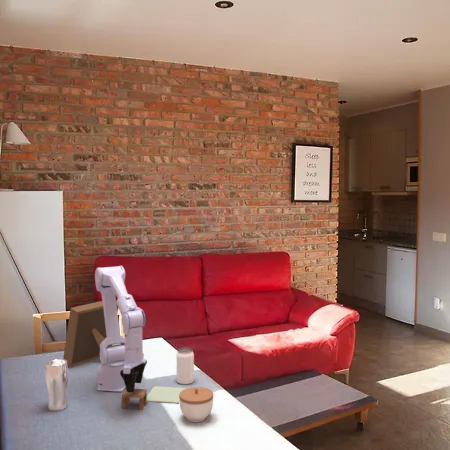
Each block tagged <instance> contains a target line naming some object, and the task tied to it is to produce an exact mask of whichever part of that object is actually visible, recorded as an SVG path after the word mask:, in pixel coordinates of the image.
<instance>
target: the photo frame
mask: <svg viewBox="0 0 450 450" xmlns="http://www.w3.org/2000/svg"><path fill="white" fill-rule="evenodd" d="M116 306H117V314H118V312H119V311H118V310H119V308H118V305H117V300H116ZM68 316H69V317H68V322H67V330H66V335H65V336H66V337H65V343H64V344H65V345H64V351H63V356H62V359H64V360H67V365H68V369H71V368H73V367H76V366H77V367H78V366H79V365H83V364H84V363H88V362H91V361H94V360H97V359H100V344H101V342H102V341H103V340H104V339H105V338H106V337H107V335H106V326H105V318H104V309H103V301H102V300H101V301H96V302H91V303H87V304H82V305H77V306H74V307H73V306H72V307H70V309H69V315H68ZM108 346H113V344H110V345H108Z"/></svg>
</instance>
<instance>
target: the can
mask: <svg viewBox="0 0 450 450" xmlns="http://www.w3.org/2000/svg"><path fill="white" fill-rule="evenodd" d="M194 367H195V353H194V352H193V348H190V347H181V348H178V349H177V353H176V382H177V383H178V384H180V385H189V384H192V383H193V382H194V380H195V369H194Z"/></svg>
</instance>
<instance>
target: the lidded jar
mask: <svg viewBox="0 0 450 450" xmlns="http://www.w3.org/2000/svg"><path fill="white" fill-rule="evenodd" d="M179 398H180V402H179V407H180V410H181V411H180V412H181V413H182V415H183V416H184V418H186V419H187V421H189V422H192V423H200V422H203V421H205V420H206V419H207V417H208V416H210V414H211V412H212V409H213V407H214V406H213V405H214V392H213V390H211V389H210V388H207V387H203V386H202V387H201V386H192V387H188V388H187V387H186V389H184V390H183V391H181V392H180V394H179Z"/></svg>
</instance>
